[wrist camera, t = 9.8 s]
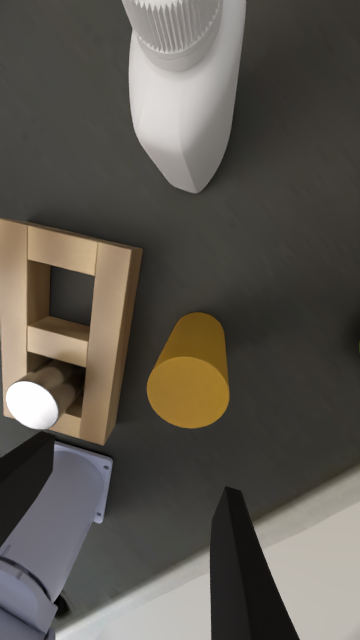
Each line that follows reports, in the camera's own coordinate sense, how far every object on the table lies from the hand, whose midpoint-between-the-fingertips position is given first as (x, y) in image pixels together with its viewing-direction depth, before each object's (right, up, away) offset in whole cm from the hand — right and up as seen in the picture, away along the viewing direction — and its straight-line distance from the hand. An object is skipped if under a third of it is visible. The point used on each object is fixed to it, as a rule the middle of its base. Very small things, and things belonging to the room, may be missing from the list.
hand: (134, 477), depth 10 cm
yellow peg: (+3, +5, +9) cm, 11 cm away
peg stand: (-7, +5, +10) cm, 13 cm away
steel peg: (-8, +2, +11) cm, 14 cm away
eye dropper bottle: (+3, +17, +5) cm, 18 cm away
